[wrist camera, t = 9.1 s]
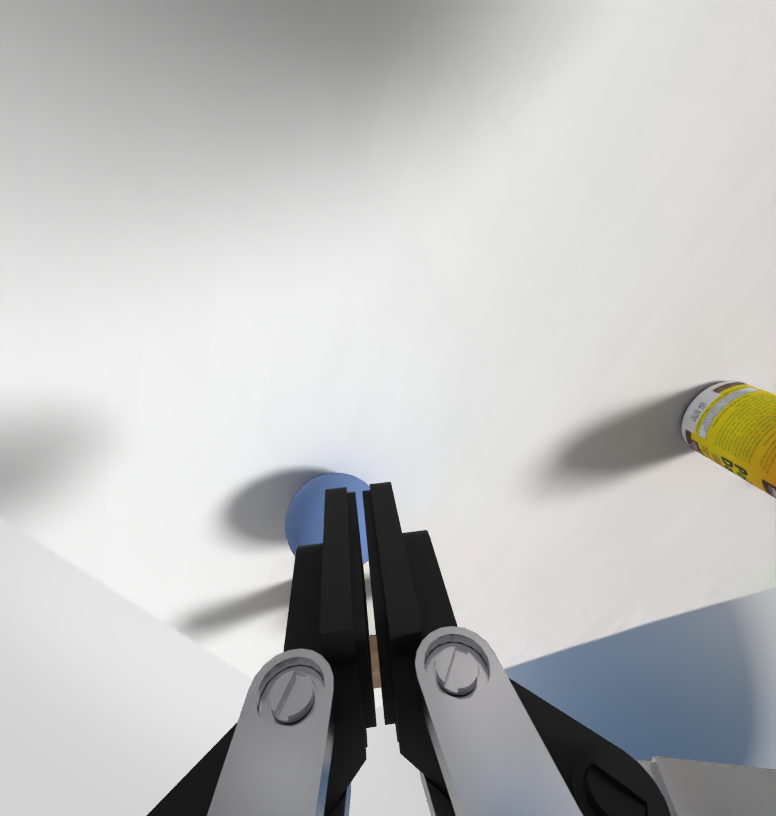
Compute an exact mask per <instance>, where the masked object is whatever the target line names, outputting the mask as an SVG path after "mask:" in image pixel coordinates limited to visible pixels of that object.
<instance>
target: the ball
mask: <svg viewBox="0 0 776 816" xmlns="http://www.w3.org/2000/svg"><path fill="white" fill-rule="evenodd" d="M341 487H347V493H348V492H355V493H356V502H357V512H358V521H359V531H360V541H361V550H362V560H363V564H365V563H366V562H367V561H368V560H369V558H368V547H367V537H366V526H365V516H364V505H363V495H362V491H365V490H370V487H369V486H368V485H367V484H366V483H365V482H364V481H362V480H360V479H359V478H357V477H354V476H352V475H349V474H344V473H329V474H324V475H321V476H318V477H316V478H314V479H312V480H311V481H309V482H307V483H306V484H305V485H304V486H302V487H301V488H300V489H299V491H298V492H297V493H296V494H295V496H294V497H293V499H292V501H291V503H290V505H289V508H288V511H287V514H286V520H285V531H286V537H287V541H288V544H289V546H290V549H291V551H292V552H293V554H294V555H295V556H296V550H297V547H298V546H304V545H312V544H320V543H323V529H324V505H325V490H326V489H332V488H341Z"/></svg>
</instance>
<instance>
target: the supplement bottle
mask: <svg viewBox="0 0 776 816" xmlns="http://www.w3.org/2000/svg"><path fill="white" fill-rule="evenodd" d="M681 430H682V435H683V438H684V440H685V442H686V443H687V444H688V445H689V446H690V447H691V448H693V449H694V450H696V451H697V452H699V453H701V454H702V455H704V456H705V457H707V458H709V459H711V460H712V461H714V462H716V463H717V464H719V465H721V466H722V467H724V468H726V469H728V470H729V471H731V472H733V473H734V474H736V475H738V476H739V477H741V478H743V479H744V480H746V481H748V482H749V483H751V484H753V485H754V486H756V487H758V488H759V489H761V490H763V491H765V492H766V493H768V494H770V495H771V496H773V497H775V498H776V393H773V392H770V391H767V390H765V389H762V388H759V387H756V386H753V385H751V384H748V383H744V382H740V381H726V382H721V383H718V384H715V385H713V386H711V387H709V388H707V389H706V390H704V391H703V392H701V393H700V394H699V395H698V396H697V397H696V398H695V399H694V400H693V401H692V403H691V404H690V405H689V407H688V408H687V410H686V412H685V414H684V417H683V420H682V426H681Z"/></svg>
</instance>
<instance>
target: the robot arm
mask: <svg viewBox="0 0 776 816" xmlns="http://www.w3.org/2000/svg"><path fill="white" fill-rule="evenodd" d="M362 495H363V505H364V516H365V526H366V537H367V547H368V558H369V568H370V579H371V589H372V599H373V609H374V619H375V629H376V639H377V649H378V659H379V669H380V679H381V689H382V699H383V707H384V708H383V709H384V719H385V725H388V724H394V723H395V725H396V733H397V741H398V742H399V746H400V753H401V754H402V755H403V756H404V757H405V758H406V759H407V760H409V762H411V763H412V764H413V765H414V766H415V767H416V768H418V769H419V770H420V775H421V780H422V784H423V788H424V791H425V795H426V798H427V802H428V806H429V809H430V813H431V816H776V770H775V769H767V768H758V767H749V766H739V765H730V764H721V763H713V762H704V761H695V760H686V759H677V758H668V757H659V756H653V759H652V761H651V762H650V761H641V760H635V759H633V758H632V757H631V756H630V755H628V754H627V753H626V752H625V751H623V750H622V749H620V748H618V747H617V746H615V745H614V744H612V743H611V742H609V741H607V740H606V739H604V738H603V737H601V736H600V735H598V734H596V733H595V732H593V731H592V730H590V729H589V728H587V727H585V726H584V725H582V724H581V723H579V722H577V721H576V720H574V719H573V718H571V717H570V716H568V715H566V714H565V713H563V712H562V711H560V710H559V709H557V708H555V707H554V706H552V705H551V704H549V703H548V702H546V701H544V700H543V699H541V698H540V697H538V696H537V695H535V694H533V693H532V692H530V691H529V690H527V689H525V688H524V687H522V686H520V685H519V684H517V683H516V682H514V681H513V680H511V679H510V678H508V677H507V675H506V673H505V671H504V669H503V667H502V665H501V664H500V662H499V660H498V658H497V656H496V654H495V653H494V651H493V650H492V648H491V647H490V646H489V644H488V643H487V641H485V640H484V639H483V638H482V637H480V636H479V635H478V634H477V633H475V632H473V631H470V630H468V629H466V628H461V627H457V624H456V620H455V617H454V614H453V611H452V607H451V604H450V601H449V598H448V594H447V591H446V588H445V585H444V581H443V578H442V575H441V572H440V568H439V565H438V562H437V559H436V556H435V552H434V549H433V546H432V543H431V539H430V536H429V534H428V531H427V530H424V531H416V532H408V533H402V531H401V526H400V522H399V517H398V513H397V508H396V504H395V499H394V495H393V490H392V485H391V482H385V483H376V484H370V490H365V491H362ZM370 727H376V714H375V701H374V689H373V677H372V665H371V653H370V641H369V629H368V616H367V604H366V592H365V580H364V570H363V560H362V550H361V541H360V531H359V521H358V512H357V502H356V493H355V492H348V493H347V487H341V488H332V489H326V490H325V505H324V529H323V543H320V544H312V545H304V546H298V547H297V550H296V556H295V564H294V572H293V580H292V588H291V596H290V604H289V612H288V620H287V628H286V636H285V644H284V652H283V653H281V654H279V655H277V656H275V657H274V658H272V659H271V660H270V661H269V662H267V663H266V664H265V665H264V666H263V667H262V668H261V670H260V671H259V672H258V673H257V674H256V676H255V677H254V679H253V681H252V684H251V686H250V688H249V690H248V693H247V696H246V699H245V702H244V705H243V708H242V711H241V714H240V717H239V720H238V722H237V723H236V724H235V725H234V726H233V727H232V728H231V729H230V730H229V732H227V734H226V735H225V736H224V737H223V738H222V739H221V740H220V741H219V742H218V743H217V744H216V745H215V746H214V747H213V748H212V749H211V750H210V751H209V752H208V753H207V754H206V755H205V756H204V757H203V758H202V759H201V760H200V761H199V762H198V764H196V765H195V766H194V767H193V768H192V770H191V771H190V772H189V773H188V774H187V775H186V776H185V777H184V778H183V779H182V780H181V781H180V782H179V783H178V784H177V785H176V786H175V787H174V788H173V789H172V790H171V791H170V792H169V793H168V794H167V795H166V796H165V797H164V798H163V799H162V800H161V801H160V802H159V803H158V805H156V807H155V808H154V809H153V810H152V811H151V812H150V813H149V814H148V815H147V816H349V808H350V807H349V806H350V796H351V781H352V780H353V778H354V777H355V775H356V774H357V772H358V771H359V769H360V768H361V766H362V765H363V763H364V762H365V760H366V747H367V733H366V732H367V731H366V728H370Z"/></svg>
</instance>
